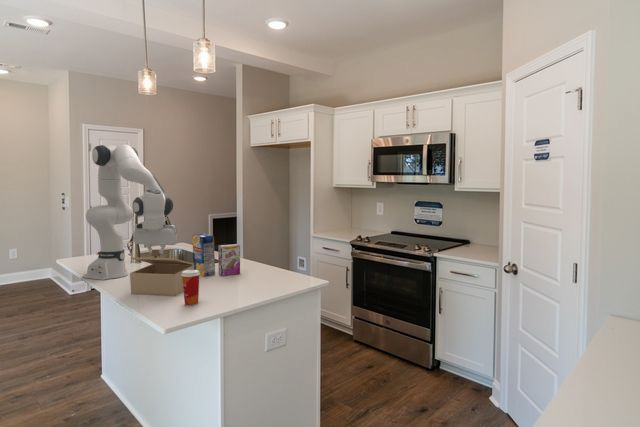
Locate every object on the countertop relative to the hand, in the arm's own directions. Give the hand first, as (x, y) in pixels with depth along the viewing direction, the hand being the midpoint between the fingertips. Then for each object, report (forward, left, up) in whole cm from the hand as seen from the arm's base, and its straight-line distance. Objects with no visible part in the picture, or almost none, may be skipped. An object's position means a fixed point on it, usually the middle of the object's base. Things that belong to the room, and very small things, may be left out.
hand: (156, 254), depth 195 cm
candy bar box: (+21, +39, -19) cm, 48 cm away
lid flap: (0, +6, -5) cm, 8 cm away
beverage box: (+7, +37, -19) cm, 42 cm away
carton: (0, +6, -18) cm, 19 cm away
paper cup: (+23, -13, -19) cm, 32 cm away
